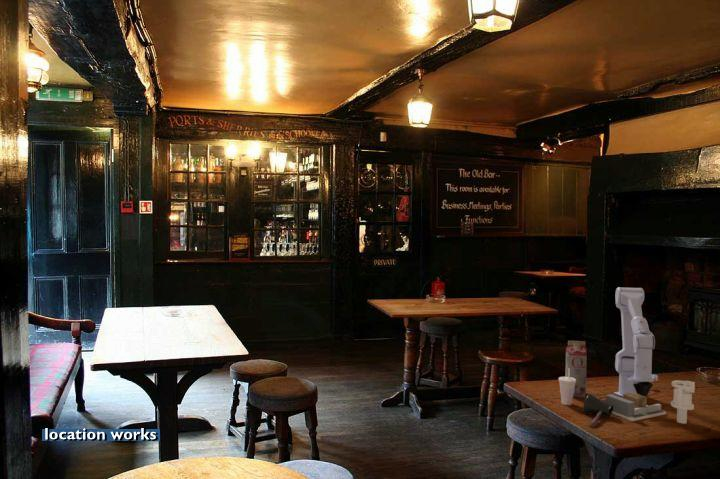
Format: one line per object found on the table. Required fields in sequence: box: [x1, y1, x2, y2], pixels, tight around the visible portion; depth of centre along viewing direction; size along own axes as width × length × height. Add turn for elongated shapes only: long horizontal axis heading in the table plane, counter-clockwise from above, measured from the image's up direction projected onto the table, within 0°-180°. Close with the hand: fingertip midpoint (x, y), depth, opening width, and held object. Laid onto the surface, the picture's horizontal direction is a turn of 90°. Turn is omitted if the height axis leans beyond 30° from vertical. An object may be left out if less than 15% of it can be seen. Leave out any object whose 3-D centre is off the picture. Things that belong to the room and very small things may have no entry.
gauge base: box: [604, 393, 667, 422], centre depth 203 cm, size 18×13×6 cm
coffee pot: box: [582, 393, 613, 428], centre depth 196 cm, size 8×18×8 cm
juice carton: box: [564, 340, 588, 398], centre depth 223 cm, size 7×7×22 cm
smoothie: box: [558, 368, 576, 406], centre depth 211 cm, size 6×6×14 cm
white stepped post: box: [670, 380, 696, 425], centre depth 193 cm, size 7×7×15 cm
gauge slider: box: [622, 392, 651, 408], centre depth 202 cm, size 5×9×5 cm, turn 25°
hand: (641, 401), depth 205 cm, fingers closed
